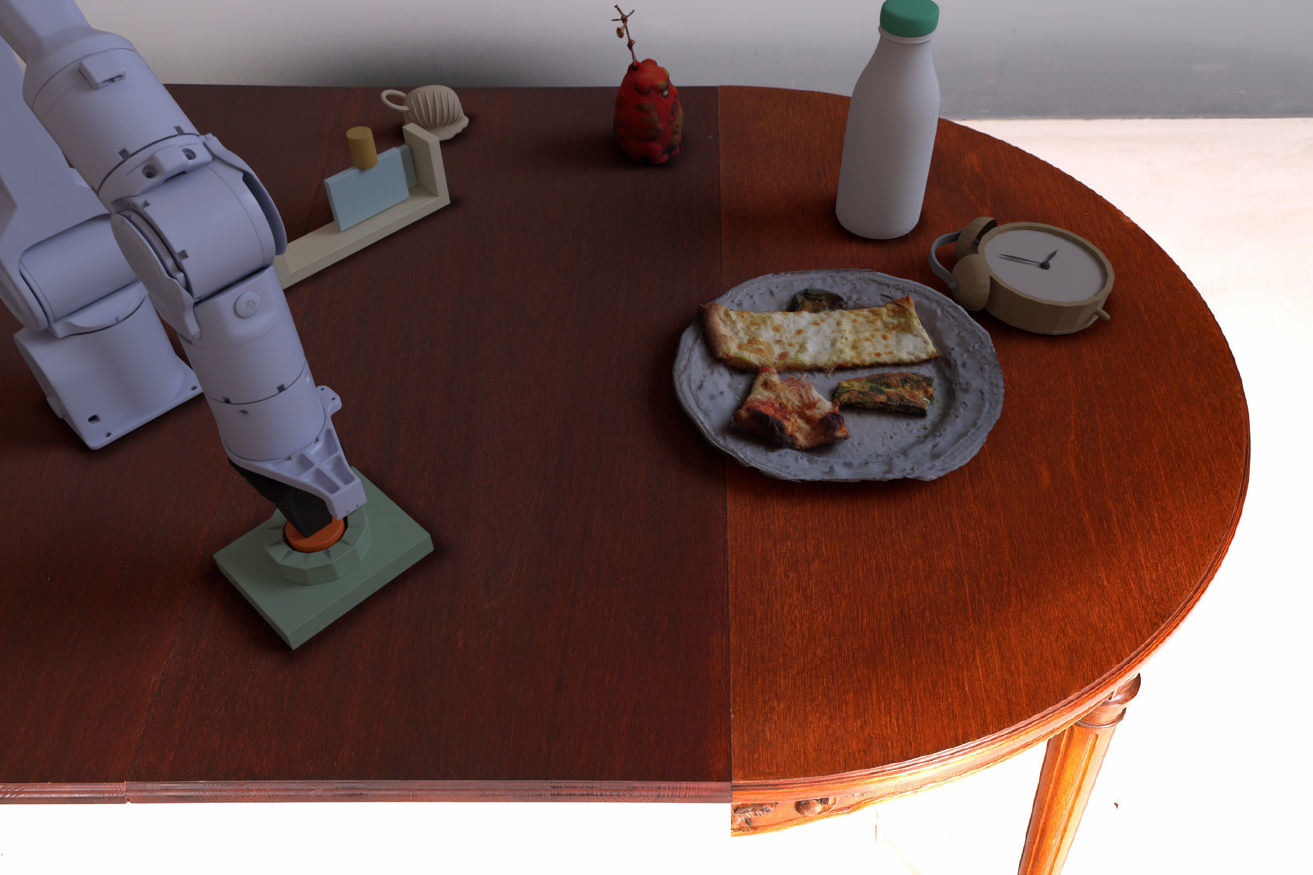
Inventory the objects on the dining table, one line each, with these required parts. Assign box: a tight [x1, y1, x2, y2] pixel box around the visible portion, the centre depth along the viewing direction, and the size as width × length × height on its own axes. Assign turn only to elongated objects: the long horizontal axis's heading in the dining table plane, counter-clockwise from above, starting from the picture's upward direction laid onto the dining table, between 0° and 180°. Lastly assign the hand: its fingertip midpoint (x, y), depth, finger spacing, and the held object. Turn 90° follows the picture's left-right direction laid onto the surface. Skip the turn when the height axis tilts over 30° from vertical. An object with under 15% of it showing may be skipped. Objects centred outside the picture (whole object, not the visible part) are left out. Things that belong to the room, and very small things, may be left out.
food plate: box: [671, 267, 1007, 483], centre depth 80 cm, size 25×23×4 cm
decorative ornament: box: [379, 84, 470, 142], centre depth 107 cm, size 4×8×5 cm, turn 104°
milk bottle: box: [835, 0, 941, 240], centre depth 90 cm, size 8×8×20 cm
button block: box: [212, 465, 435, 651], centre depth 69 cm, size 11×9×4 cm
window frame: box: [273, 123, 451, 290], centre depth 94 cm, size 18×4×7 cm, turn 136°
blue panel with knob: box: [323, 125, 410, 231], centre depth 94 cm, size 8×2×8 cm, turn 136°
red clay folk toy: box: [610, 3, 684, 166], centre depth 101 cm, size 8×7×15 cm
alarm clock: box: [928, 216, 1116, 336], centre depth 88 cm, size 11×5×15 cm
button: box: [286, 517, 347, 554], centre depth 68 cm, size 4×4×2 cm
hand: (314, 524), depth 68 cm, fingers closed, pressing on button
